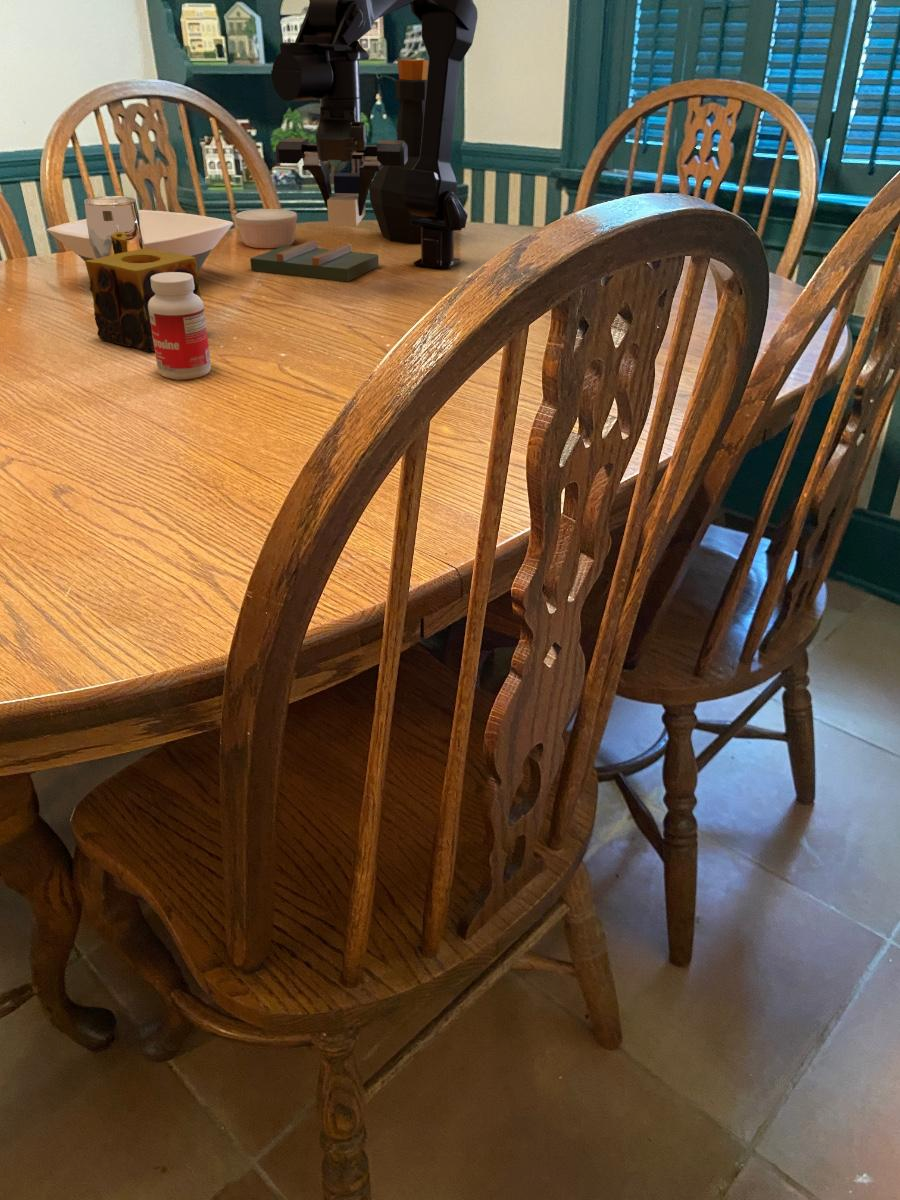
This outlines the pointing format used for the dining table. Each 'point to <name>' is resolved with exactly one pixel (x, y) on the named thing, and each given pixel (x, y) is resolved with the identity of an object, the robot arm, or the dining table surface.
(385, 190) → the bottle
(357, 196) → the cream and navy block
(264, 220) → the ramekin
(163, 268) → the candle
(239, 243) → the dining table surface
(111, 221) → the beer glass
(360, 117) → the robot arm
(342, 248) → the green board with rails
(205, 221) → the bowl
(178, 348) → the pill bottle
